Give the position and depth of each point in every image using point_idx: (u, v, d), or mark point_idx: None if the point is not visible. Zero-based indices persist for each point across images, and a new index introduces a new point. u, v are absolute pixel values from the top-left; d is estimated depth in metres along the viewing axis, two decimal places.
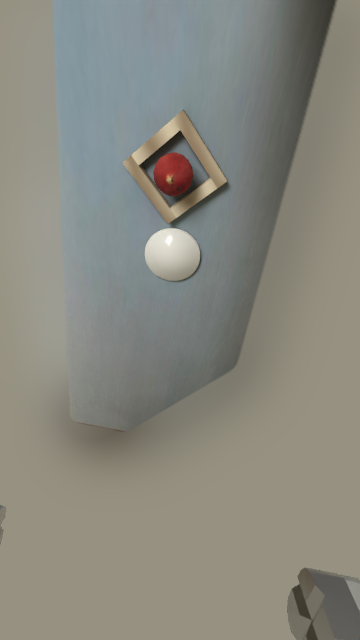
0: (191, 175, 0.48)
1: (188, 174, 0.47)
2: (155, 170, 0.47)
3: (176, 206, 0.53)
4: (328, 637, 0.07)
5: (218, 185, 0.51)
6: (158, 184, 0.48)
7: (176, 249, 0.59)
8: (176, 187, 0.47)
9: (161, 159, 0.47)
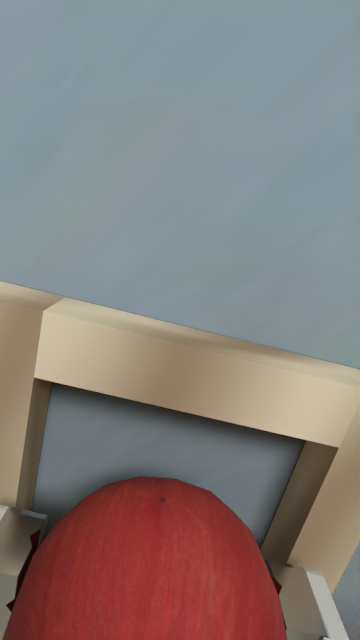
0: None
1: None
2: (78, 609, 0.05)
3: None
4: None
5: None
6: None
7: None
8: None
9: (178, 582, 0.06)
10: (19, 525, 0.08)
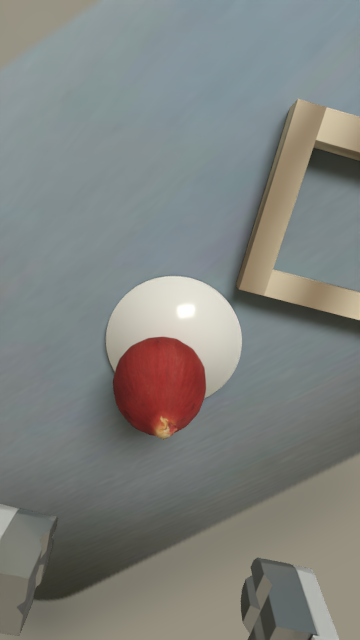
0: None
1: (194, 416, 0.20)
2: (138, 370, 0.18)
3: (286, 278, 0.22)
4: (271, 626, 0.07)
5: None
6: (124, 401, 0.19)
7: (194, 341, 0.24)
8: None
9: (166, 359, 0.19)
10: (29, 527, 0.08)
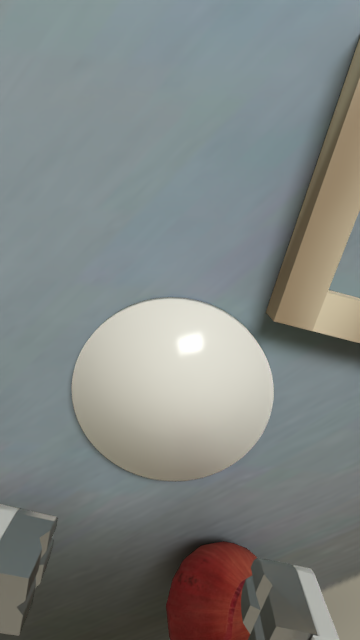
0: (188, 556, 0.18)
1: None
2: None
3: (349, 305, 0.14)
4: (271, 626, 0.07)
5: None
6: None
7: (202, 394, 0.16)
8: None
9: None
10: (29, 527, 0.08)
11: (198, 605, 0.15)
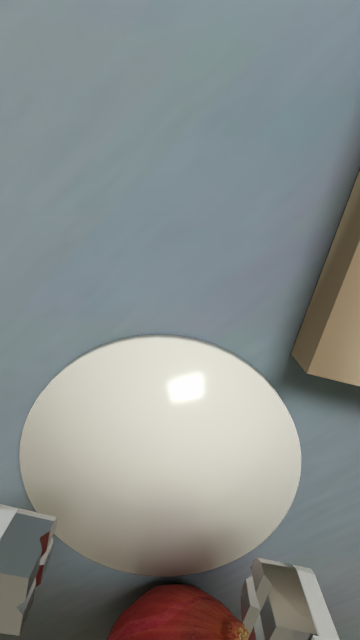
0: None
1: None
2: None
3: None
4: (271, 626, 0.07)
5: None
6: None
7: (201, 467, 0.12)
8: None
9: None
10: (29, 527, 0.08)
11: (171, 584, 0.13)
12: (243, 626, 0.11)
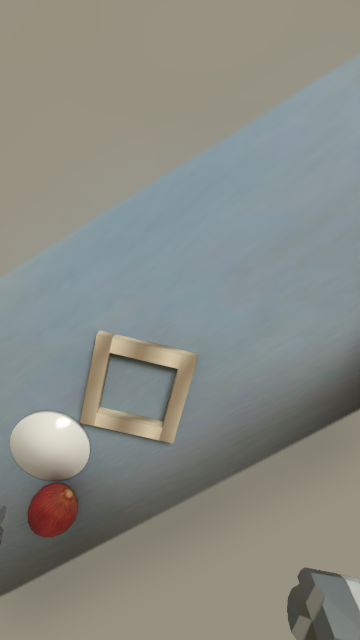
0: None
1: None
2: (41, 534, 0.39)
3: (105, 417, 0.39)
4: (328, 637, 0.07)
5: (162, 439, 0.40)
6: None
7: (61, 446, 0.41)
8: None
9: (55, 535, 0.40)
10: None
11: (56, 483, 0.43)
12: (70, 489, 0.41)
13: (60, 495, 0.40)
